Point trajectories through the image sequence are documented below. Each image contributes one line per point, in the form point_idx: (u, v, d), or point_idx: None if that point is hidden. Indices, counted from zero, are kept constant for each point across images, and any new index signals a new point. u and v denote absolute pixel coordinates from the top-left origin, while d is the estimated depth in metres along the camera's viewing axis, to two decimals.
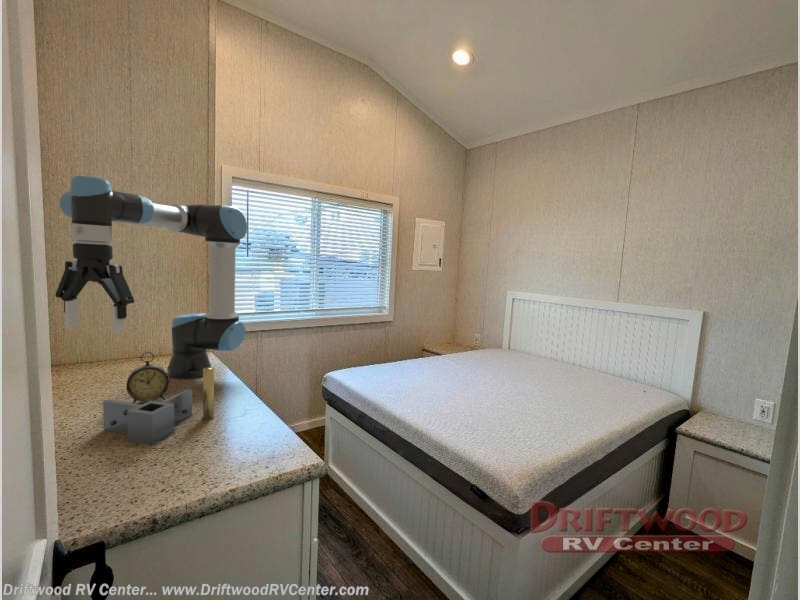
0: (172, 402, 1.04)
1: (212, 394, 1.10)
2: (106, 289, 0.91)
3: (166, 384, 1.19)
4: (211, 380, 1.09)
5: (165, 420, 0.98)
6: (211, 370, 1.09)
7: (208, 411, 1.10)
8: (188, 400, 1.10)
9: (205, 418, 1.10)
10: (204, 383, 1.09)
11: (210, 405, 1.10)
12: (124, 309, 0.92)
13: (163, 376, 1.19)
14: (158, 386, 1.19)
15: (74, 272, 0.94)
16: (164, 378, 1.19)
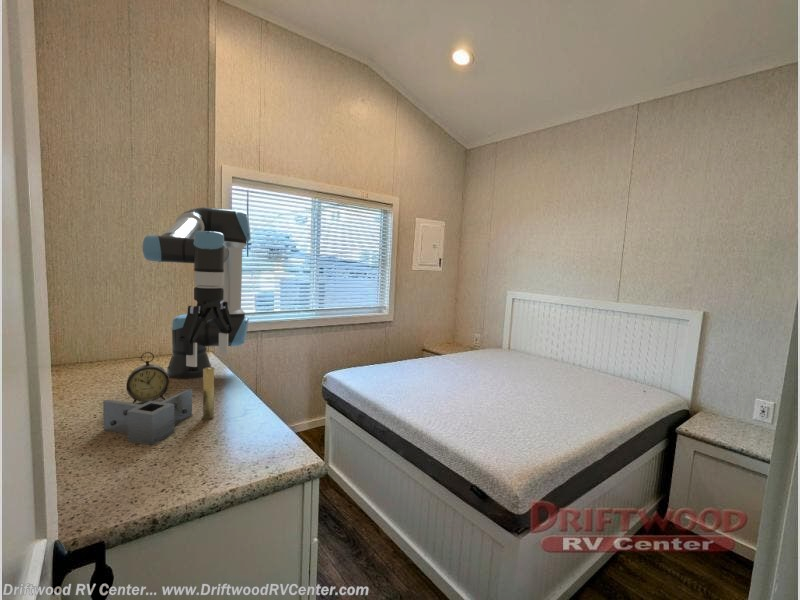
0: (172, 402, 1.04)
1: (212, 394, 1.10)
2: None
3: (166, 384, 1.19)
4: (211, 380, 1.09)
5: (165, 420, 0.98)
6: (211, 370, 1.09)
7: (208, 411, 1.10)
8: (188, 400, 1.10)
9: (205, 418, 1.10)
10: (204, 383, 1.09)
11: (210, 405, 1.10)
12: (188, 347, 1.00)
13: (163, 376, 1.19)
14: (158, 386, 1.19)
15: (222, 310, 1.13)
16: (164, 378, 1.19)
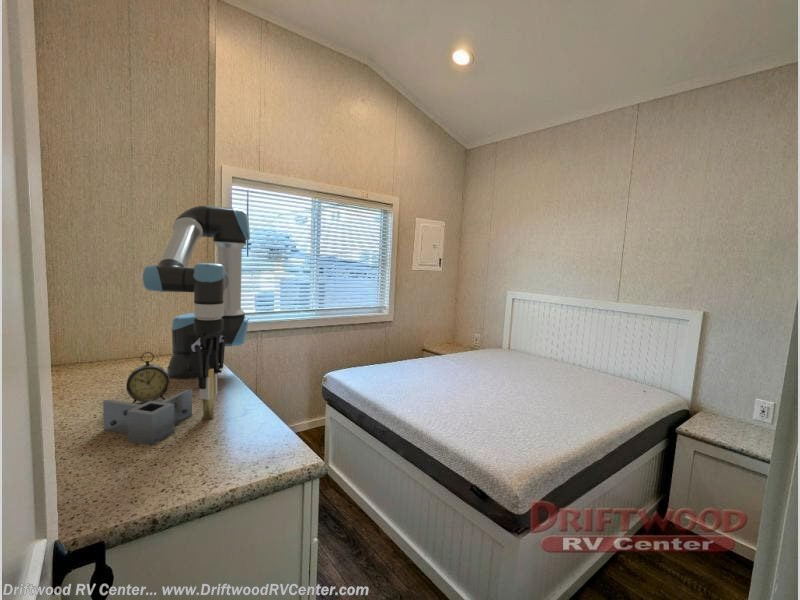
0: (172, 402, 1.04)
1: (212, 394, 1.10)
2: None
3: (166, 384, 1.19)
4: (211, 380, 1.09)
5: (165, 420, 0.98)
6: (211, 370, 1.09)
7: (208, 411, 1.10)
8: (188, 400, 1.10)
9: (205, 418, 1.10)
10: None
11: (210, 405, 1.10)
12: (201, 381, 1.07)
13: (163, 376, 1.19)
14: (158, 386, 1.19)
15: (219, 344, 1.13)
16: (164, 378, 1.19)
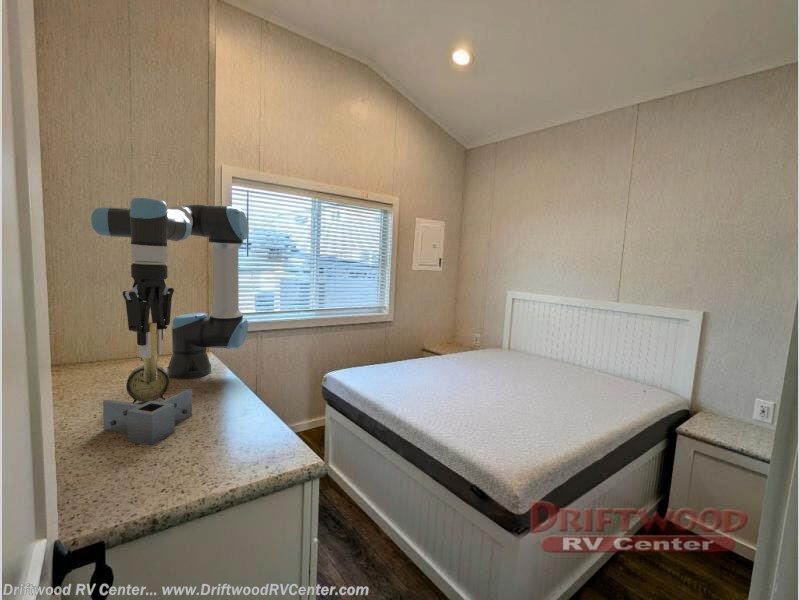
0: (172, 402, 1.04)
1: (155, 352, 0.95)
2: None
3: (166, 384, 1.19)
4: (153, 336, 0.95)
5: (165, 420, 0.98)
6: (152, 324, 0.94)
7: (150, 372, 0.95)
8: (188, 400, 1.10)
9: (147, 380, 0.95)
10: None
11: (153, 365, 0.95)
12: (140, 336, 0.92)
13: (163, 376, 1.19)
14: (158, 386, 1.19)
15: (164, 297, 0.99)
16: (164, 378, 1.19)
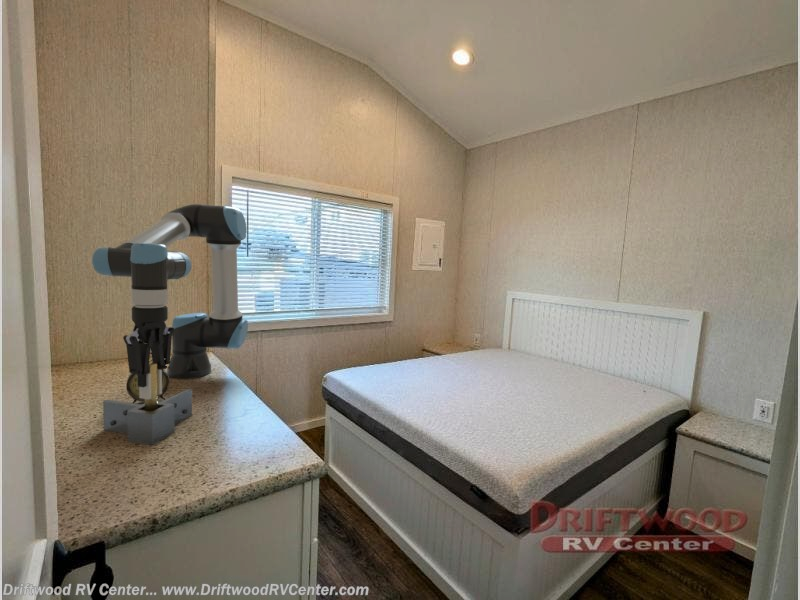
0: (172, 402, 1.04)
1: (155, 392, 0.97)
2: None
3: (166, 384, 1.19)
4: (153, 377, 0.96)
5: (165, 420, 0.98)
6: (153, 365, 0.95)
7: None
8: (188, 400, 1.10)
9: None
10: None
11: (153, 405, 0.97)
12: (140, 378, 0.93)
13: (163, 376, 1.19)
14: None
15: (164, 336, 1.00)
16: (164, 378, 1.19)
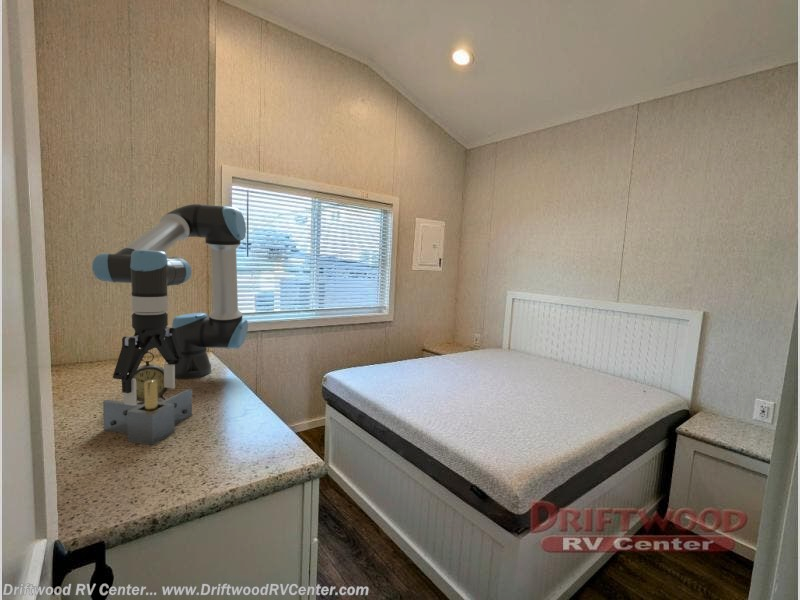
0: (172, 402, 1.04)
1: None
2: None
3: None
4: (154, 395, 0.96)
5: (165, 420, 0.98)
6: (153, 383, 0.96)
7: None
8: (188, 400, 1.10)
9: None
10: (145, 398, 0.96)
11: None
12: (125, 384, 0.89)
13: (163, 376, 1.19)
14: (158, 386, 1.19)
15: (168, 338, 1.01)
16: None
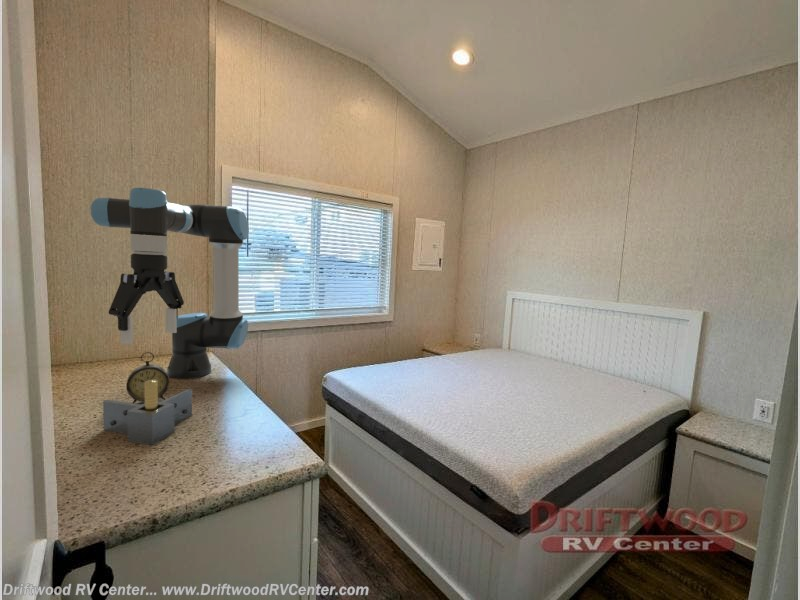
0: (172, 402, 1.04)
1: None
2: None
3: (166, 384, 1.19)
4: (154, 395, 0.96)
5: (165, 420, 0.98)
6: (153, 383, 0.96)
7: None
8: (188, 400, 1.10)
9: None
10: (145, 398, 0.96)
11: None
12: (121, 321, 0.87)
13: (163, 376, 1.19)
14: (158, 386, 1.19)
15: (168, 282, 1.00)
16: (164, 378, 1.19)
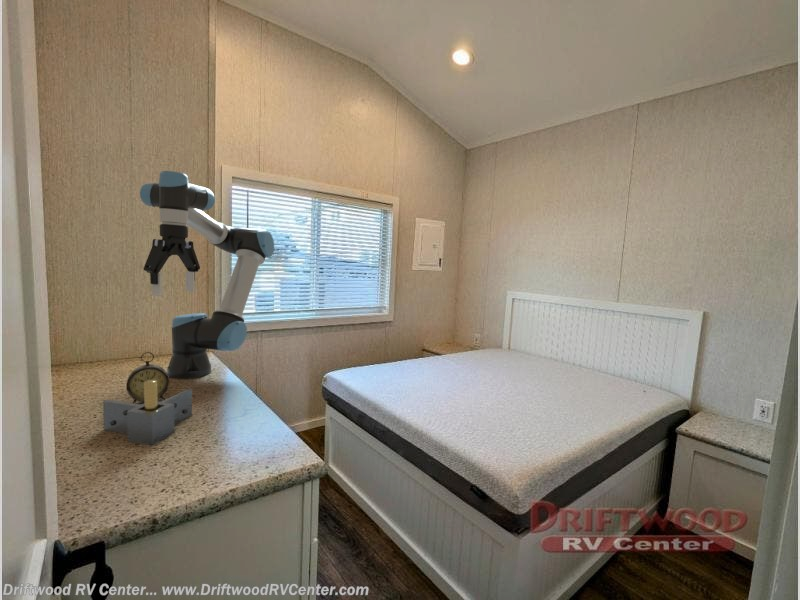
0: (172, 402, 1.04)
1: None
2: None
3: (166, 384, 1.19)
4: (153, 395, 0.96)
5: (165, 420, 0.98)
6: (153, 383, 0.96)
7: None
8: (188, 400, 1.10)
9: None
10: (145, 398, 0.96)
11: None
12: (153, 276, 1.09)
13: (163, 376, 1.19)
14: (158, 386, 1.19)
15: (188, 249, 1.22)
16: (164, 378, 1.19)
